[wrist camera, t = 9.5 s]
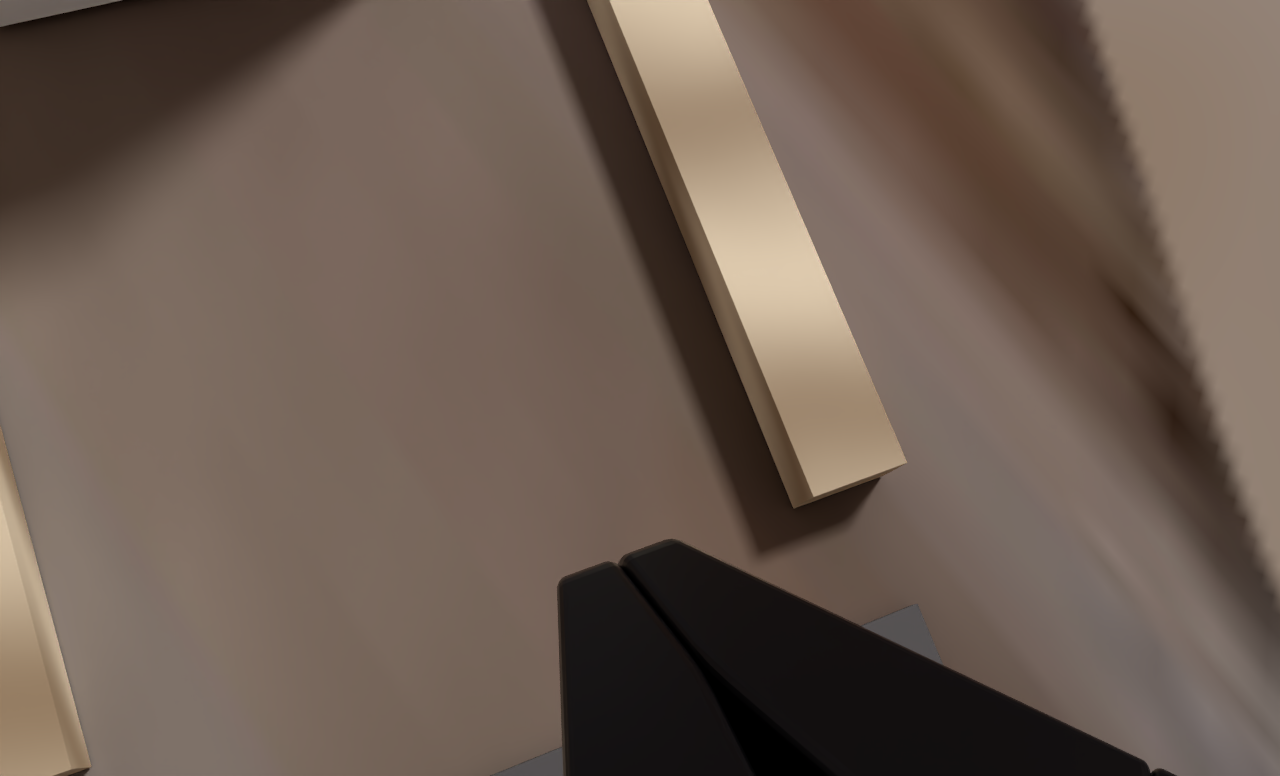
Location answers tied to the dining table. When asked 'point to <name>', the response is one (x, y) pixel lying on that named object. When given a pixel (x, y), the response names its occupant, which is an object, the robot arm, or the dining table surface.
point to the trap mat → (898, 627)
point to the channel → (731, 276)
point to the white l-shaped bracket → (41, 8)
